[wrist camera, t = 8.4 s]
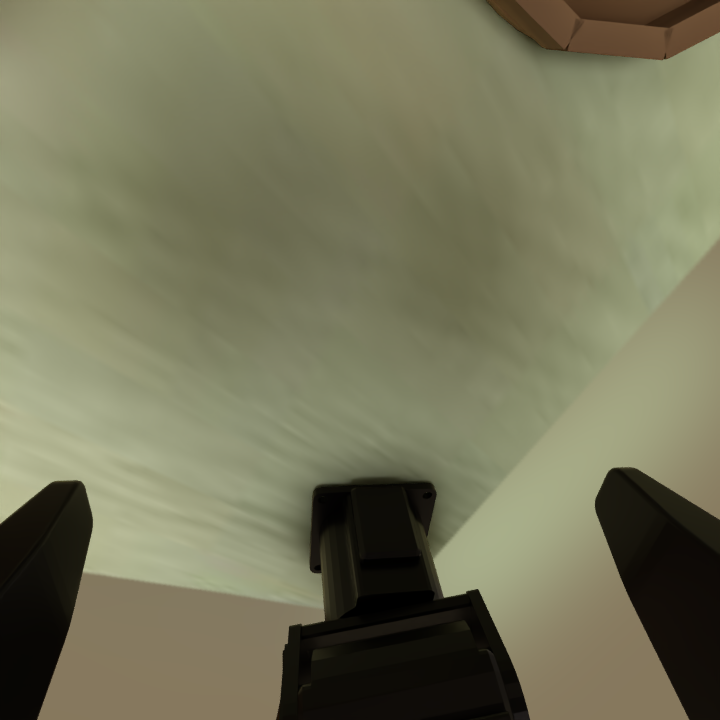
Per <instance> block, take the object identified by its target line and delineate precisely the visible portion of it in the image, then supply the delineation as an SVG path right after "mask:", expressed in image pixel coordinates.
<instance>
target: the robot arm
mask: <svg viewBox="0 0 720 720" xmlns="http://www.w3.org/2000/svg"><path fill="white" fill-rule="evenodd" d="M426 492H428V493H426ZM322 496H324V497H322ZM435 499H436V490H435V487H434V486H433V485H432V484H430V483H416V484H390V485H365V486H339V487H321V488H317V489H316V490H315V491H314V492H313V495H312V518H311V541H310V570H311V571H312V572H313V573H322V585H323V598H324V612H325V621H324V622H319V623H314V624H309V625H304V626H302V624H298V625H292V626H289V636H288V644H285V650H284V651H283V674H282V687H281V699H280V704H279V709H278V713H277V718H276V720H530V718H529V714H528V709H527V706H526V702H525V699H524V695H523V692H522V689H521V686H520V682H519V680H518V677H517V674H516V671H515V669H514V666H513V664H512V662H511V659H510V657H509V655H508V653H507V651H506V648H505V646H504V644H503V642H502V640H501V637H500V635H499V633H498V631H497V629H496V627H495V624H494V622H493V620H492V618H491V616H490V614H489V611H488V610H487V607H486V605H485V603H484V601H483V599H482V596H481V594H480V592H479V590H478V589H476V590H471V591H467V592H466V594H461V595H456V596H451V597H446V598H444V597H443V594H442V590H441V586H440V583H439V579H438V576H437V572H436V569H435V565H434V562H433V558H432V555H431V551H430V548H429V544H428V541H427V535H428V531H429V526H430V522H431V517H432V513H433V508H434V504H435ZM595 510H596V514H597V516H598V519H599V522H600V524H601V527H602V529H603V532H604V535H605V537H606V540H607V543H608V545H609V548H610V550H611V553H612V556H613V558H614V561H615V564H616V566H617V569H618V572H619V574H620V577H621V579H622V582H623V584H624V587H625V589H626V591H627V594H628V596H629V598H630V600H631V602H632V604H633V606H634V608H635V610H636V612H637V614H638V616H639V619H640V621H641V623H642V624H643V627H644V629H645V631H646V633H647V635H648V637H649V639H650V641H651V643H652V645H653V647H654V649H655V651H656V653H657V655H658V657H659V659H660V661H661V663H662V665H663V667H664V669H665V671H666V673H667V675H668V677H669V679H670V681H671V684H672V686H673V688H674V689H675V692H676V694H677V696H678V698H679V700H680V702H681V704H682V706H683V708H684V710H685V712H686V714H687V716H688V718H689V720H720V520H719V519H717V518H716V517H714V516H712V515H711V514H709V513H708V512H706V511H704V510H703V509H701V508H700V507H698V506H696V505H695V504H693V503H691V502H689V501H688V500H687V499H685V498H683V497H682V496H680V495H678V494H677V493H675V492H674V491H672V490H670V489H669V488H667V487H665V486H664V485H662V484H660V483H659V482H657V481H656V480H654V479H652V478H651V477H649V476H648V475H646V474H644V473H643V472H641V471H639V470H638V469H635V468H631V467H624V468H623V467H621V468H612V469H611V470H610V471H609V472H608V473H607V475H606V477H605V479H604V482H603V484H602V486H601V488H600V490H599V492H598V495H597V497H596V500H595ZM92 528H93V517H92V512H91V508H90V505H89V501H88V497H87V493H86V489H85V486H84V484H83V483H82V482H81V481H78V480H73V481H54V482H52V483H50V484H49V485H47V486H46V487H45V488H44V489H42V490H41V491H40V492H39V493H37V494H36V495H35V496H34V497H33V498H31V499H30V500H29V501H28V502H26V503H25V504H24V505H23V506H22V507H20V508H19V509H18V510H17V511H15V512H14V513H13V514H12V515H10V516H9V517H8V518H7V519H6V520H4V521H3V522H2V523H1V524H0V720H37V719H38V716H39V713H40V710H41V707H42V704H43V701H44V699H45V696H46V693H47V690H48V687H49V685H50V682H51V679H52V676H53V673H54V671H55V668H56V665H57V662H58V659H59V656H60V653H61V651H62V648H63V645H64V642H65V639H66V636H67V633H68V630H69V627H70V623H71V619H72V615H73V611H74V607H75V602H76V598H77V594H78V590H79V585H80V581H81V577H82V572H83V568H84V564H85V560H86V555H87V551H88V547H89V542H90V538H91V534H92Z"/></svg>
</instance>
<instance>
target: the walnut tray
mask: <svg viewBox="0 0 720 720" xmlns="http://www.w3.org/2000/svg"><path fill="white" fill-rule="evenodd" d="M486 1H487V2H488V3H489V4H490V5H491V6H492V7H493V8H494V10H495V11H496V12H497V13H498V14H499V15H500V16H501V17H502V18H504V19H505V20H506V21H507V22H509V23H510V24H511V25H512V26H513V27H515V28H516V29H517V30H519V31H520V32H522V33H524V34H526V35H527V36H529V37H531V38H533V39H534V40H535V41H536V42H537V43H538V44H539V45H540V46H541V47H542V48H546V49H550V50H561V51H571V52H581V53H592V54H603V55H613V56H624V57H634V58H645V59H656V60H663V59H668V58H670V57H672V56H674V55H676V54H678V53H680V52H682V51H684V50H686V49H688V48H690V47H691V46H693V45H695V44H697V43H699V42H701V41H703V40H705V39H707V38H709V37H711V36H713V35H715V34H717V33H719V32H720V0H486Z"/></svg>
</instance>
